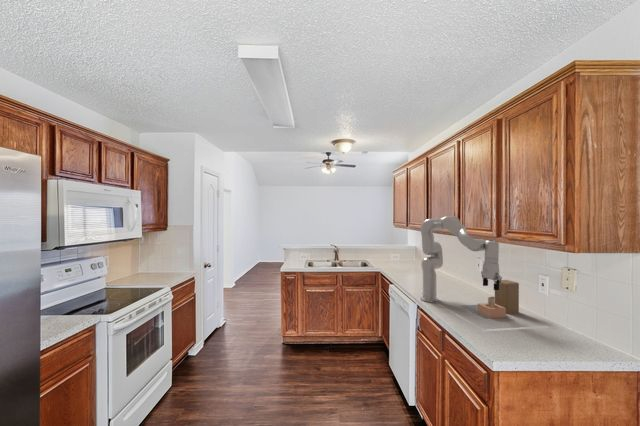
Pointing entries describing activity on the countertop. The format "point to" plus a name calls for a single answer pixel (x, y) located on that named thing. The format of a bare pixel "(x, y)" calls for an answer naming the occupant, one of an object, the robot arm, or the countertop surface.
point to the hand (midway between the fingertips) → (490, 287)
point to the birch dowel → (491, 301)
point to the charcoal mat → (475, 310)
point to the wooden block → (508, 296)
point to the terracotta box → (491, 310)
